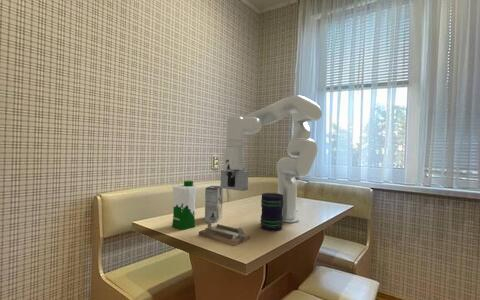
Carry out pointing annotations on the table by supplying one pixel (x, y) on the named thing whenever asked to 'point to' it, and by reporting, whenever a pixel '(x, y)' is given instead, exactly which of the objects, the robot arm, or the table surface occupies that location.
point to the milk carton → (184, 205)
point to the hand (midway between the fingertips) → (234, 185)
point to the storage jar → (272, 212)
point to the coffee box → (213, 203)
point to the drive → (235, 180)
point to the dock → (224, 234)
